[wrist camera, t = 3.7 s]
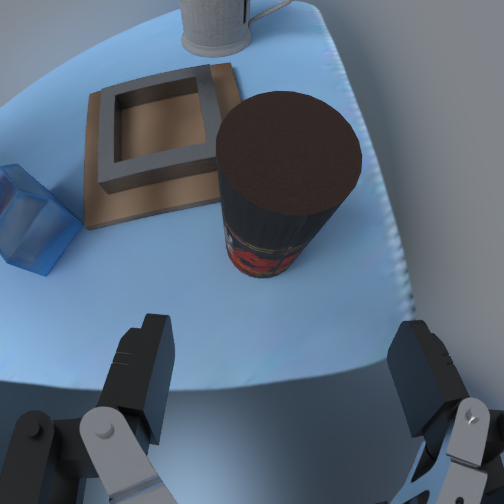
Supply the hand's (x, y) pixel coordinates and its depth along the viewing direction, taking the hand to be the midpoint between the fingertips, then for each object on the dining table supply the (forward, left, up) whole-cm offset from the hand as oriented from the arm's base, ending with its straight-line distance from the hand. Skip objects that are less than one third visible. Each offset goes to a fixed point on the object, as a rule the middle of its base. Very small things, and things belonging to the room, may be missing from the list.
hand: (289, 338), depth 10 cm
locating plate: (-5, +19, -15) cm, 25 cm away
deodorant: (+2, +7, -15) cm, 17 cm away
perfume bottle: (-18, +12, -15) cm, 27 cm away
